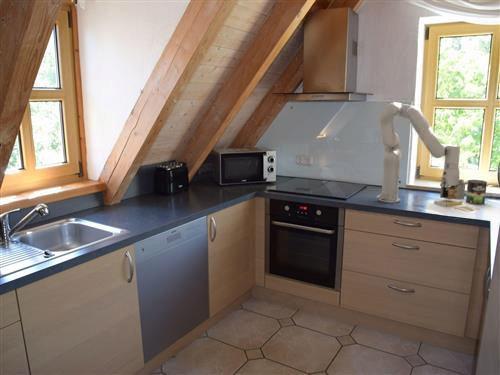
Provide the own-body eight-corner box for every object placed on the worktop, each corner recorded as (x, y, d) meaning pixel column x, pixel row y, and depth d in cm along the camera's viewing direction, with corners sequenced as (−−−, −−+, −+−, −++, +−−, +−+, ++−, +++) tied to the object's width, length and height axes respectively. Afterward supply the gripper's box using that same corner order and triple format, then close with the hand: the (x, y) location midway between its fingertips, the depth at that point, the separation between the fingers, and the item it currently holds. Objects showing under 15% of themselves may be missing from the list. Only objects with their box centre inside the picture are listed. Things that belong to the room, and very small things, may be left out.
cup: (462, 198, 272) (464, 182, 270) (464, 201, 265) (466, 185, 263) (448, 197, 275) (449, 182, 273) (449, 200, 268) (451, 184, 265)
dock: (446, 208, 247) (447, 203, 247) (433, 205, 255) (434, 200, 254) (461, 206, 253) (462, 201, 252) (448, 202, 261) (449, 198, 260)
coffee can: (487, 206, 251) (489, 183, 248) (468, 206, 253) (470, 182, 250) (481, 202, 261) (483, 179, 258) (462, 202, 263) (465, 179, 260)
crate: (450, 199, 249) (451, 189, 247) (440, 197, 255) (440, 187, 253) (457, 198, 251) (458, 188, 250) (446, 196, 257) (447, 186, 256)
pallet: (467, 213, 237) (467, 211, 237) (453, 210, 245) (453, 208, 244) (480, 211, 242) (480, 209, 242) (465, 207, 250) (466, 205, 249)
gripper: (446, 168, 242) (444, 199, 246) (466, 165, 250) (464, 195, 253) (435, 166, 248) (433, 196, 252) (455, 163, 256) (453, 193, 260)
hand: (448, 195), depth 253 cm, fingers closed on crate, 6 cm apart
